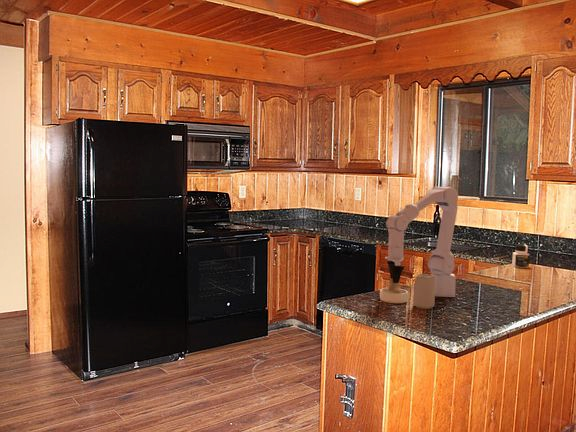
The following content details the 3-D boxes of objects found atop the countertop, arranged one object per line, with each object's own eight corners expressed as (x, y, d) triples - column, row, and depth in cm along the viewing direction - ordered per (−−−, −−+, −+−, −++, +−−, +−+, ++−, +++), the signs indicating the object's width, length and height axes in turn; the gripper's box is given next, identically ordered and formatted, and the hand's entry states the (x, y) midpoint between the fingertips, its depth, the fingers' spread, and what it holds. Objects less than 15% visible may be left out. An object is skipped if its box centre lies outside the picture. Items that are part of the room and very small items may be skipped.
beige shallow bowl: (405, 297, 219) (405, 288, 219) (409, 303, 209) (409, 294, 209) (378, 296, 220) (379, 287, 220) (381, 302, 210) (381, 293, 209)
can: (430, 304, 209) (432, 273, 208) (436, 309, 201) (438, 277, 200) (411, 304, 209) (412, 272, 208) (416, 309, 201) (417, 276, 200)
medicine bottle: (515, 267, 293) (516, 245, 292) (511, 265, 300) (513, 243, 299) (529, 268, 292) (530, 245, 291) (525, 265, 299) (527, 243, 298)
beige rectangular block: (397, 297, 216) (398, 280, 215) (398, 299, 213) (399, 281, 213) (387, 297, 216) (388, 279, 215) (388, 298, 213) (389, 281, 213)
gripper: (383, 243, 220) (382, 276, 221) (387, 248, 206) (386, 284, 207) (401, 243, 220) (400, 277, 221) (406, 249, 205) (405, 285, 207)
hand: (394, 280), depth 214 cm, fingers open, 7 cm apart
